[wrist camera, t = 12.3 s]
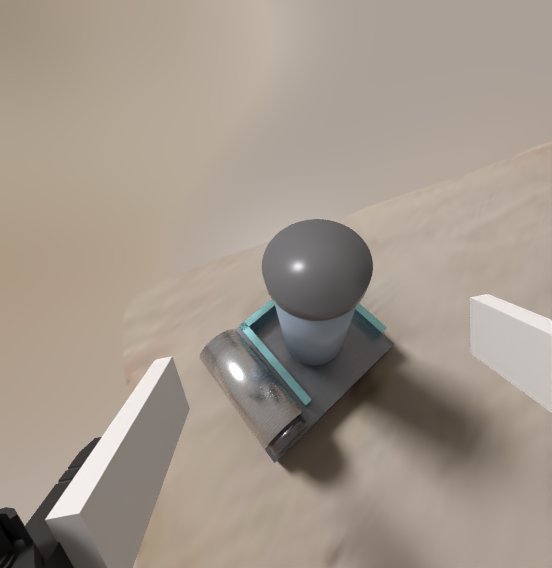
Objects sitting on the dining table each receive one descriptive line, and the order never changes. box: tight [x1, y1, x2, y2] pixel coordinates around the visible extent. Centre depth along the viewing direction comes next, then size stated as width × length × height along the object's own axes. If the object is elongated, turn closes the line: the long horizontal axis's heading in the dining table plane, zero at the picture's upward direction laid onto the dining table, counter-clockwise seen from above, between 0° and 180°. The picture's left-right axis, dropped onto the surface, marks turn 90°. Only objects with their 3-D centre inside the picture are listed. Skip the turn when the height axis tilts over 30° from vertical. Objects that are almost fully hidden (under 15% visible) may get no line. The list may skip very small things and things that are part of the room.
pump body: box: [262, 219, 373, 365], centre depth 20 cm, size 5×5×12 cm
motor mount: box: [200, 299, 394, 463], centre depth 24 cm, size 13×10×5 cm
